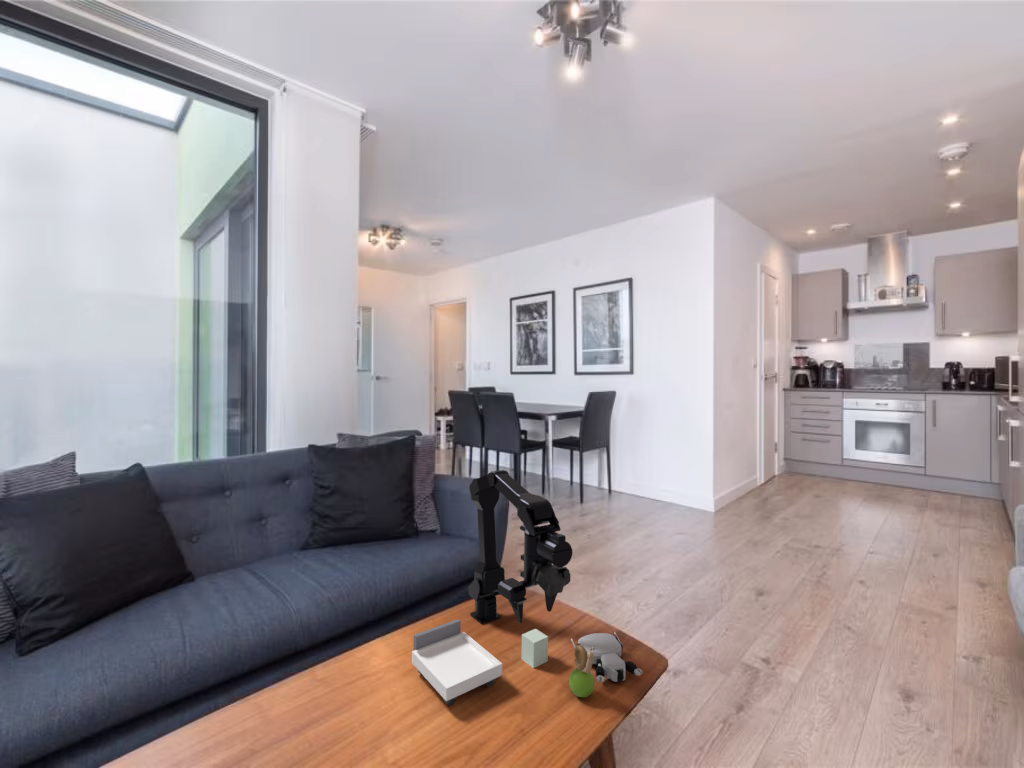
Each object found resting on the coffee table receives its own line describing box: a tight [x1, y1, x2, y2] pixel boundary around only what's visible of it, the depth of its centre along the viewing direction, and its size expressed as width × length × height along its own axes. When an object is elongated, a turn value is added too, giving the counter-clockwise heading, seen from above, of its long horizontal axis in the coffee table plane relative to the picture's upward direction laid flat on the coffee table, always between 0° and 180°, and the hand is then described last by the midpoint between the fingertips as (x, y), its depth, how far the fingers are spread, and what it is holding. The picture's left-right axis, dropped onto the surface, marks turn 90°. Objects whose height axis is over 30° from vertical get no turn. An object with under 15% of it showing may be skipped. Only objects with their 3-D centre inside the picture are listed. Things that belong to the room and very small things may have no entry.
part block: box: [520, 628, 549, 669], centre depth 112 cm, size 4×4×6 cm
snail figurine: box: [568, 644, 595, 699], centre depth 99 cm, size 5×6×12 cm
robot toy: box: [570, 631, 643, 683], centre depth 110 cm, size 12×4×15 cm
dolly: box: [411, 618, 503, 707], centre depth 105 cm, size 17×14×8 cm
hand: (534, 616), depth 112 cm, fingers open, 9 cm apart
